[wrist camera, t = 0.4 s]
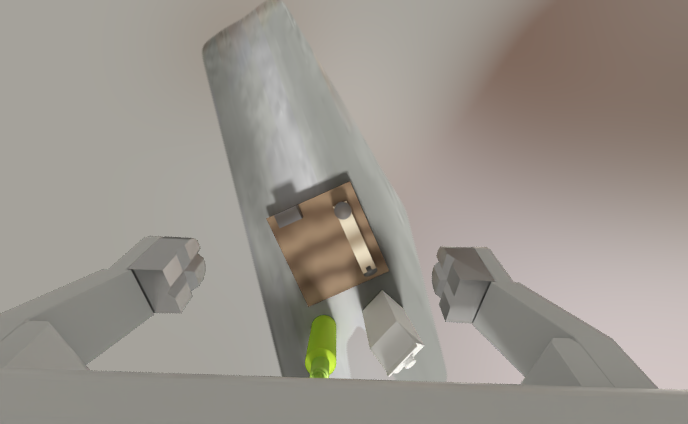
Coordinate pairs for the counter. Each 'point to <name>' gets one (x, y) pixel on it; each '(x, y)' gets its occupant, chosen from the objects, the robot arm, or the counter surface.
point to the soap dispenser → (321, 348)
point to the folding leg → (355, 238)
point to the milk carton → (391, 334)
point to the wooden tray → (324, 245)
